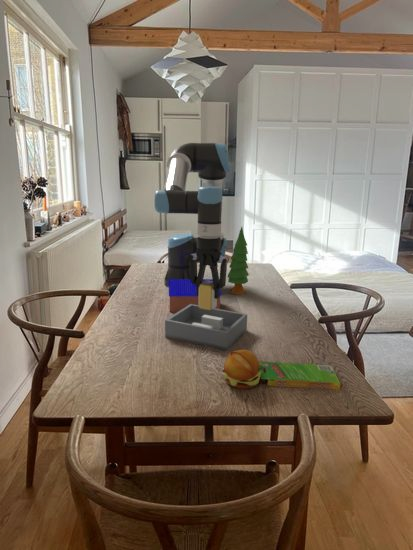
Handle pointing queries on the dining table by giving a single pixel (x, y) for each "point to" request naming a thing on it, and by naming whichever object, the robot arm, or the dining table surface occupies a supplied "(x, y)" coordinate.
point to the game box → (300, 375)
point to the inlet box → (206, 326)
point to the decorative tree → (239, 265)
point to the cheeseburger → (242, 369)
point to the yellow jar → (205, 294)
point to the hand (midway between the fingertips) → (207, 306)
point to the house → (184, 294)
